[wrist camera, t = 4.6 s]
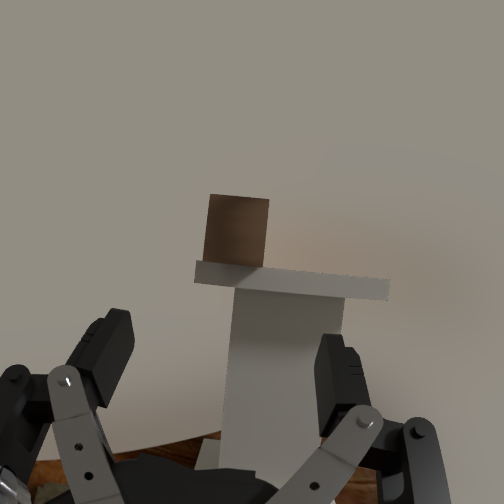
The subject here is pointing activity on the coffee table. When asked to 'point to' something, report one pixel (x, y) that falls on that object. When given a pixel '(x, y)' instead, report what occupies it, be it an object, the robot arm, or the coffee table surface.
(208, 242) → the walnut bar
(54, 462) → the coffee table surface
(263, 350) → the shelf stand
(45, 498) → the stone block
